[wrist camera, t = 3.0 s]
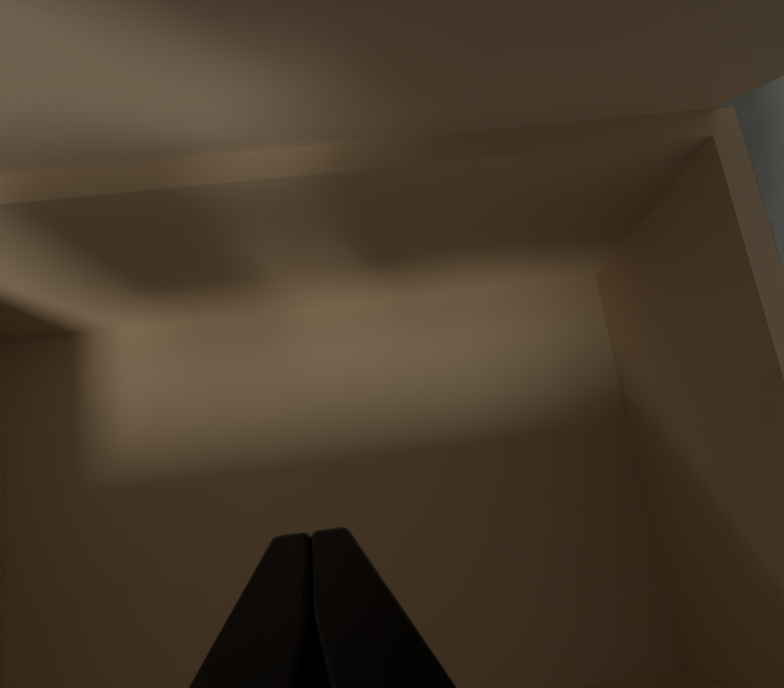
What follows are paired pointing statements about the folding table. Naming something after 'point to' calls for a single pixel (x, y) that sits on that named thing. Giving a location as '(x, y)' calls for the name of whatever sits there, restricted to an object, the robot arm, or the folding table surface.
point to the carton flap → (353, 70)
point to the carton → (402, 401)
